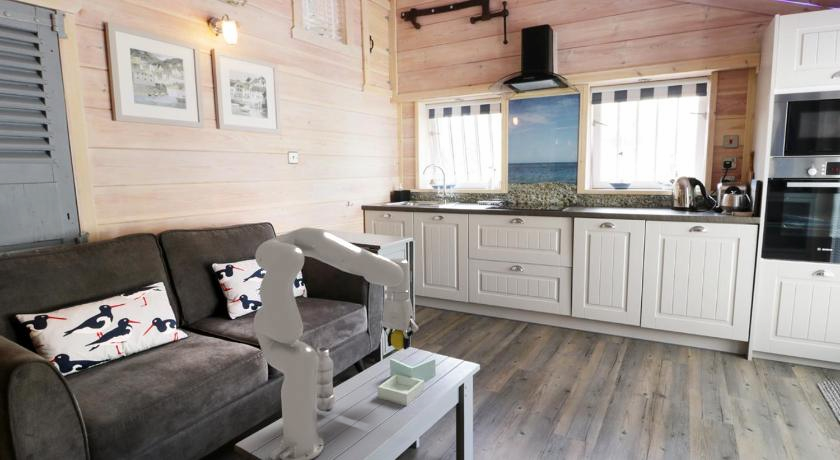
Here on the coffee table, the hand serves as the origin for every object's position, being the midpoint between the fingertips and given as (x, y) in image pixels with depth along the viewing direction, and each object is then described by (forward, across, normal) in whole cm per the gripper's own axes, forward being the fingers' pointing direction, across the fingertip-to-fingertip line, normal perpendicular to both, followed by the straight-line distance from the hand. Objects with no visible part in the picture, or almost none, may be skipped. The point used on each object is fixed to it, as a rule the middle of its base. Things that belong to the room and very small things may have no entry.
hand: (398, 346), depth 155 cm
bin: (+17, +1, 0) cm, 17 cm away
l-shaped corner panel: (+18, -2, +13) cm, 22 cm away
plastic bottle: (+18, -17, -19) cm, 31 cm away
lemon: (+2, 0, 0) cm, 2 cm away
